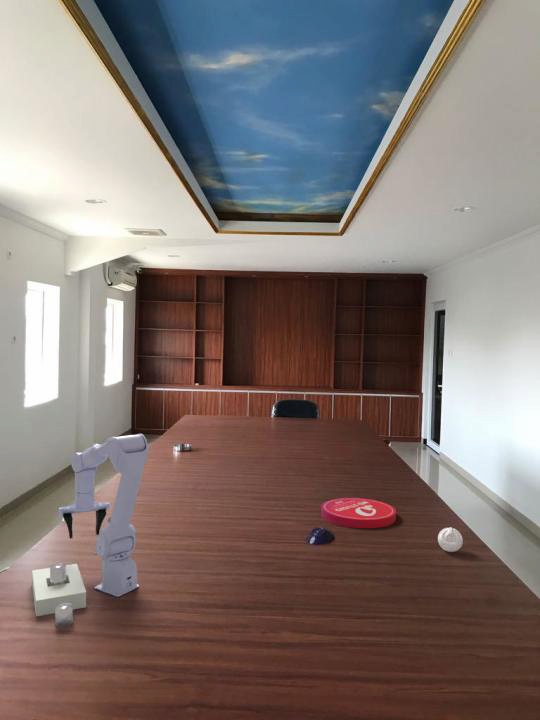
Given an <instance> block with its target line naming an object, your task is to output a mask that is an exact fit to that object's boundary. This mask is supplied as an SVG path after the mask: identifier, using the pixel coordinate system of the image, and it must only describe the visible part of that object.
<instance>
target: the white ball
mask: <svg viewBox="0 0 540 720" xmlns="http://www.w3.org/2000/svg"><path fill="white" fill-rule="evenodd" d="M463 539H464V538H463V536H462V534H461V533H460V531H459V530H457V528H453V527H444V528H443V529H442V530H441V529H440V531H439V533H438V536H437V543H438V544H439V546H440V548H442V549H443V550H444V551H446V552H448V553H454V552H457V551H459V550H460V549H461V548H462V546H463V543H464V542H463Z"/></svg>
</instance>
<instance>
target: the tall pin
mask: <svg viewBox="0 0 540 720" xmlns="http://www.w3.org/2000/svg"><path fill="white" fill-rule="evenodd" d="M66 565H67V564H66V563H63V562H60V563H59V562H57V563H53V564H52V565H50V567H49V568H50V586H56V585H62V584H66Z"/></svg>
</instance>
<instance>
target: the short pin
mask: <svg viewBox="0 0 540 720" xmlns="http://www.w3.org/2000/svg"><path fill="white" fill-rule="evenodd" d="M73 613H74V610H73V605H72V604H71V603H62V604H59V605H57V606H56V607H55V613H54V621H55V622H54V625H55V626H56V627H58V628H66V627H68V626H71V625H72V624H73V622H74V621H73V619H74V615H73Z"/></svg>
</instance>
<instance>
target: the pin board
mask: <svg viewBox="0 0 540 720" xmlns="http://www.w3.org/2000/svg"><path fill="white" fill-rule="evenodd" d="M31 588H32V597H33V604H34V612H35V613H34V614H35V617H41V616H48V615H51V614H55V607H56V606H57V605H59V604H62V603H71V604H72V605H73V611H74V610H77V609H84V608H87V590H86V587H85V583H84V581H83V577H82V575H81V572H80V569H79V566H78V564H77V563H72V564H66V584H62V585H56V586H50V567H46V568H40V569H33V570H31Z"/></svg>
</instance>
